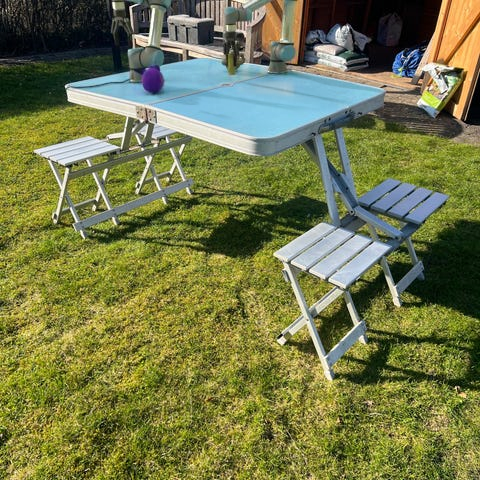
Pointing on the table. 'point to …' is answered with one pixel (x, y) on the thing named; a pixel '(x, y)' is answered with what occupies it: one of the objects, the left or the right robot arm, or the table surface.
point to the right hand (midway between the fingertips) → (231, 65)
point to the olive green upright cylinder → (231, 65)
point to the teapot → (237, 61)
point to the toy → (152, 79)
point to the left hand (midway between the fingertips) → (124, 45)
